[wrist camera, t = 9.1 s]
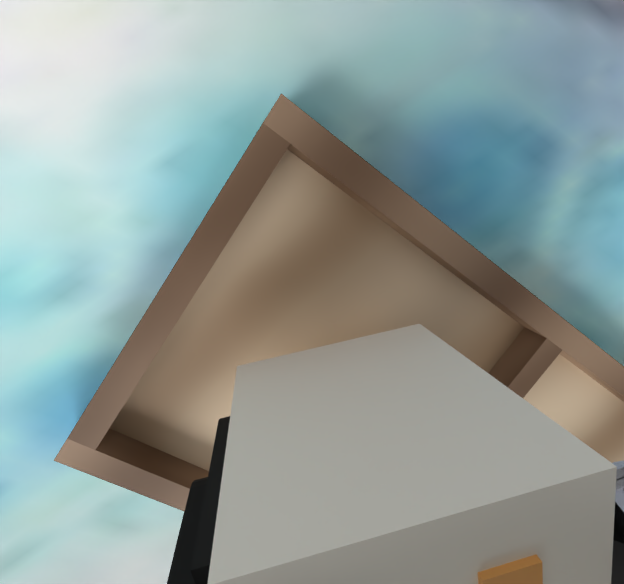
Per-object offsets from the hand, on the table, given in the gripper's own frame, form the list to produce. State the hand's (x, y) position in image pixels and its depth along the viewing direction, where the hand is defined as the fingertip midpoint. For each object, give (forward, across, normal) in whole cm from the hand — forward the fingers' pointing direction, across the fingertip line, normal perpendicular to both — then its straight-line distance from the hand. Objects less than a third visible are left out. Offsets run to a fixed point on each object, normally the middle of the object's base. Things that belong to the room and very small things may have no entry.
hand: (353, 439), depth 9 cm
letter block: (+1, 0, 0) cm, 1 cm away
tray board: (+3, -8, +7) cm, 11 cm away
